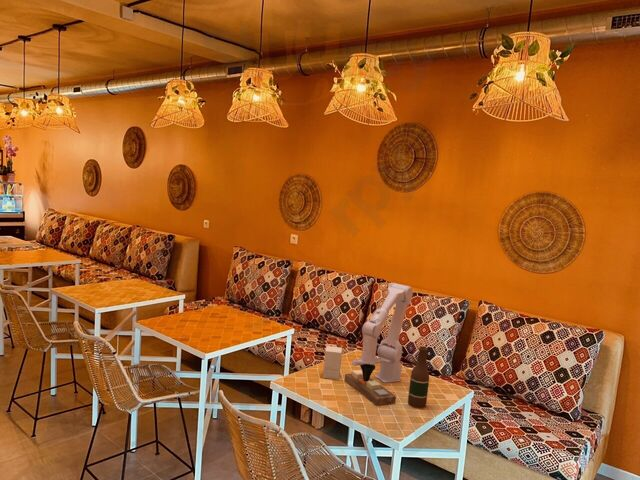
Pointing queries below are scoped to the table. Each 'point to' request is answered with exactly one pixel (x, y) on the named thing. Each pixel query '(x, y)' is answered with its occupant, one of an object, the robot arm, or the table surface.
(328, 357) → the supplement box
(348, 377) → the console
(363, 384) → the key terracotta
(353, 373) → the key ivory
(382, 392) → the key slate
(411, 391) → the beer bottle
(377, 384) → the key sage
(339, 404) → the table surface
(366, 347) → the robot arm
